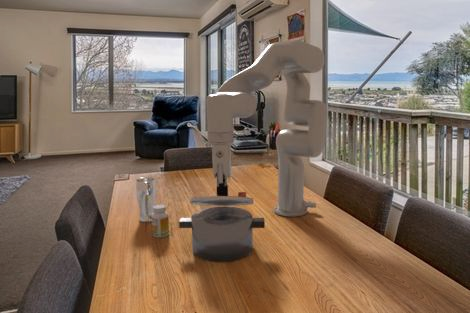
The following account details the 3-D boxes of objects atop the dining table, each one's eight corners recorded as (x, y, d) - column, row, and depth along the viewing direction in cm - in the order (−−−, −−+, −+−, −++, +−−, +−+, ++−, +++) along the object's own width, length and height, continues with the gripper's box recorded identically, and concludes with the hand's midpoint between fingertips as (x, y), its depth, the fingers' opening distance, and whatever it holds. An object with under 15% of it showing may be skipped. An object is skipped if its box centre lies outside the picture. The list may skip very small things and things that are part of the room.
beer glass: (138, 223, 132) (135, 182, 129) (137, 217, 139) (135, 178, 136) (158, 221, 134) (155, 181, 131) (156, 215, 141) (154, 176, 138)
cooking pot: (262, 235, 120) (263, 206, 118) (265, 262, 103) (265, 228, 101) (186, 235, 121) (184, 206, 119) (175, 262, 104) (174, 228, 102)
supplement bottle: (170, 231, 125) (168, 203, 123) (168, 237, 120) (166, 209, 118) (154, 231, 125) (152, 204, 123) (151, 238, 120) (149, 209, 118)
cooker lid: (252, 205, 119) (252, 195, 119) (253, 200, 101) (253, 188, 101) (194, 206, 119) (195, 196, 120) (185, 200, 101) (185, 188, 102)
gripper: (232, 141, 99) (234, 206, 103) (234, 133, 114) (236, 190, 118) (204, 142, 100) (207, 207, 104) (210, 133, 114) (212, 191, 118)
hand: (222, 198), depth 111 cm, fingers closed
